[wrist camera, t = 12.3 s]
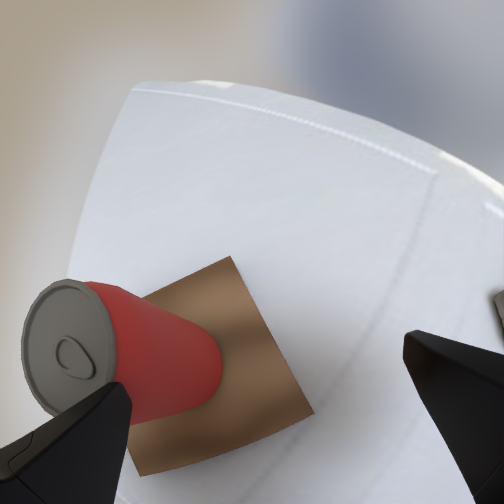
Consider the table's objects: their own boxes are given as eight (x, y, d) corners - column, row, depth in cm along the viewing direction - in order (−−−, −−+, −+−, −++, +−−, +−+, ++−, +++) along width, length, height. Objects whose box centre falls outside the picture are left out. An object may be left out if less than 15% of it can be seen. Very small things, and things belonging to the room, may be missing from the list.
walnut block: (311, 412, 19) (314, 413, 17) (154, 471, 17) (140, 476, 15) (235, 269, 26) (230, 255, 24) (105, 330, 24) (90, 322, 22)
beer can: (209, 422, 17) (99, 469, 6) (133, 386, 19) (4, 379, 8) (237, 337, 19) (151, 295, 8) (158, 310, 21) (43, 249, 10)
